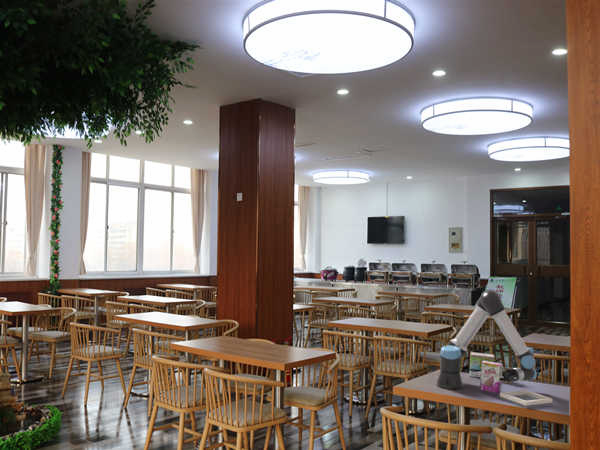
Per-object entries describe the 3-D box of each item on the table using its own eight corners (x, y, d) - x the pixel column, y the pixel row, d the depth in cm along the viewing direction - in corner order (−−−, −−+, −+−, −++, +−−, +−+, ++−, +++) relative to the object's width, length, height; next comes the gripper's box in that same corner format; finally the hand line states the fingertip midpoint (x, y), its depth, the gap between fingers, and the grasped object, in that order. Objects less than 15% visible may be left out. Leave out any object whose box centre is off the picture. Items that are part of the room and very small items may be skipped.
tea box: (469, 376, 351) (470, 354, 352) (469, 373, 360) (470, 351, 361) (493, 379, 346) (494, 356, 347) (493, 376, 356) (493, 353, 357)
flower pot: (495, 380, 343) (496, 367, 343) (507, 380, 346) (508, 366, 347) (506, 384, 334) (506, 370, 335) (518, 384, 337) (518, 370, 338)
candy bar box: (479, 390, 310) (480, 361, 311) (481, 388, 314) (483, 360, 315) (499, 394, 304) (500, 365, 304) (501, 392, 308) (503, 363, 309)
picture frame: (499, 398, 300) (500, 392, 300) (525, 396, 309) (525, 390, 309) (525, 408, 284) (526, 401, 284) (552, 405, 292) (552, 398, 292)
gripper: (530, 386, 306) (502, 388, 297) (498, 376, 328) (471, 378, 318) (530, 373, 306) (502, 375, 297) (498, 363, 328) (471, 365, 319)
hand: (486, 376), depth 308 cm, fingers closed on candy bar box, 12 cm apart
